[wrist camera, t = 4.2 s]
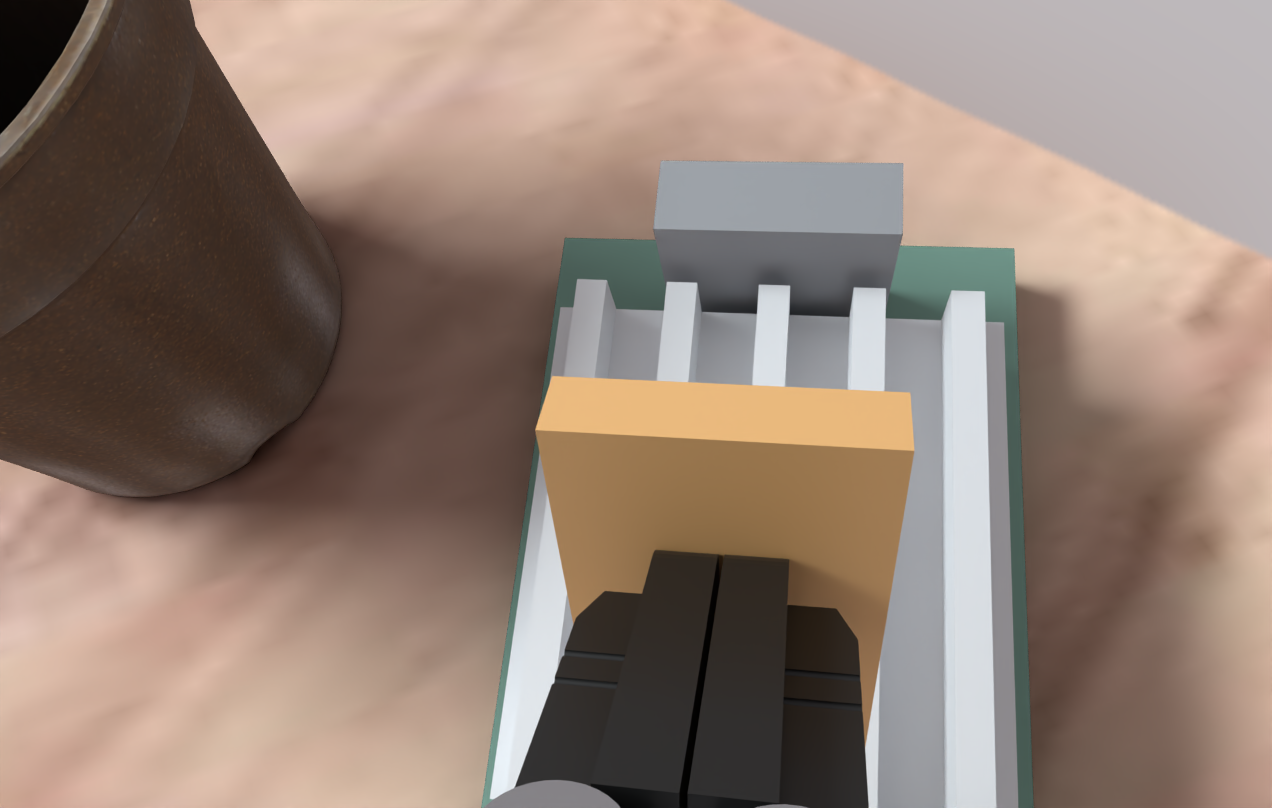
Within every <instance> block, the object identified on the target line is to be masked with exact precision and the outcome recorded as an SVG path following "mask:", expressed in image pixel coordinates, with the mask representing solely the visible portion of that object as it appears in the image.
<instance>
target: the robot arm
mask: <svg viewBox="0 0 1272 808" xmlns="http://www.w3.org/2000/svg"><path fill="white" fill-rule="evenodd" d="M788 581H789V559H783V558H769V557H754V556H740V555H726V554H725V555H724V558H723V565H722V571H721V578H720V577H719V554H708V553H694V552H679V551H665V550H655V551H654V553H653V556H652V559H651V563H650V566H649V570H648V574H647V577H646V581H645V585H644V588H643V592H642V594H639V593H626V592H613V591H604V592H603V593H602V594H601V595H600V596H599V597H597V598H596V599H595V600H594V601H593V602H592V603H591V604H590V605H589V606H588V607H587V608H586V609H585V610H583V611H582V612H581V613H580V614H579V615H578V616H577V617H576V619H575V622H574V625H573V627H572V630H571V633H570V636H569V638H568V641H567V644H566V647H565V650H564V656H562V658H561V661H560V663H559V666H558V669H557V672H556V674H555V681H554V684H552V685H551V688H550V691H549V694H548V697H547V699H546V702H545V705H544V708H543V710H542V713H541V716H540V719H539V721H538V724H537V727H536V730H535V732H534V735H533V738H532V741H531V743H530V746H529V749H528V752H527V755H526V757H525V760H524V763H523V766H522V768H521V771H520V774H519V777H518V779H517V782H516V785H515V787H514V788H513V789H511V790H509V791H507V792H505V793H503V794H501V795H500V796H498V797H496V798H495V799H493V800H492V801H491V802H490V803H488V804H487V805H486V806H485V807H484V808H869V802H868V786H867V770H866V754H865V739H864V723H863V712H862V691H861V682H860V660H859V644H858V639H857V637H856V636H855V635H854V633H853V632H852V630H851V629H850V627H849V626H848V624H847V623H846V622H845V620H844V619H843V617H842V616H841V614H840V613H839V611H838V610H837V609H836V608H824V607H811V606H798V605H787V604H788Z"/></svg>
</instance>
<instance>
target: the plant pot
mask: <svg viewBox="0 0 1272 808" xmlns="http://www.w3.org/2000/svg"><path fill="white" fill-rule="evenodd" d="M340 321H341V287H340V280H339V275H338V270H337V267H336V264H335V261H334V258H333V255H332V253H331V251H330V249H329V247H328V245H327V243H326V241H325V239H324V238H323V236H322V234H321V233H320V231H319V230H318V228H317V226H316V225H315V224H314V222H313V221H312V219H311V218H310V216H309V215H308V213H307V212H306V210H305V208H304V207H303V205H302V204H301V202H300V200H299V199H298V197H297V196H296V194H295V192H294V191H293V189H292V187H291V186H290V184H289V182H288V181H287V179H286V177H285V176H284V174H283V172H282V171H281V169H280V167H279V166H278V164H277V162H276V161H275V159H274V157H273V156H272V154H271V152H270V151H269V149H268V147H267V146H266V144H265V142H264V141H263V139H262V137H261V136H260V134H259V132H258V131H257V129H256V127H255V126H254V124H253V122H252V121H251V119H250V118H249V116H248V114H247V113H246V111H245V109H244V107H243V106H242V104H241V102H240V101H239V99H238V97H237V96H236V94H235V92H234V91H233V89H232V87H231V86H230V84H229V82H228V81H227V79H226V77H225V76H224V74H223V72H222V71H221V69H220V67H219V65H218V64H217V62H216V60H215V59H214V57H213V55H212V54H211V52H210V50H209V49H208V47H207V45H206V44H205V42H204V40H203V39H202V37H201V35H200V34H199V32H198V30H197V29H196V27H195V21H194V17H193V13H192V9H191V4H190V1H189V0H0V459H1V460H4V461H7V462H10V463H13V464H16V465H19V466H22V467H25V468H28V469H31V470H34V471H37V472H40V473H43V474H45V475H48V476H51V477H54V478H57V479H60V480H62V481H65V482H68V483H71V484H73V485H76V486H79V487H81V488H84V489H87V490H90V491H94V492H98V493H103V494H109V495H116V496H128V497H152V496H161V495H167V494H172V493H178V492H182V491H187V490H191V489H194V488H197V487H199V486H202V485H205V484H208V483H210V482H213V481H215V480H217V479H220V478H222V477H224V476H226V475H228V474H230V473H232V472H234V471H236V470H238V469H239V468H241V467H243V466H244V465H246V464H247V463H249V462H250V460H251V458H252V456H253V455H254V453H255V452H256V450H257V449H258V448H259V447H260V446H261V445H262V444H263V443H265V442H266V441H267V440H268V439H269V438H271V437H272V436H273V435H274V434H275V433H277V432H278V431H280V430H281V429H282V428H284V427H285V426H286V425H288V424H290V423H292V422H294V421H296V420H297V419H298V418H299V417H300V415H301V414H302V413H303V411H304V410H305V408H306V407H307V406H308V404H309V403H310V402H311V400H312V399H313V397H314V395H315V394H316V392H317V390H318V388H319V386H320V385H321V383H322V381H323V379H324V377H325V374H326V372H327V370H328V368H329V365H330V362H331V360H332V356H333V353H334V349H335V346H336V342H337V339H338V334H339V328H340Z"/></svg>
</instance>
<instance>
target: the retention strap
mask: <svg viewBox="0 0 1272 808" xmlns="http://www.w3.org/2000/svg"><path fill="white" fill-rule="evenodd" d="M535 432H536V437H537V442H538V447H539V452H540V457H541V462H542V467H543V472H544V477H545V483H546V488H547V493H548V498H549V503H550V508H551V513H552V518H553V523H554V529H555V534H556V539H557V544H558V549H559V554H560V559H561V564H562V569H563V574H564V580H565V585H566V590H567V595H568V600H569V605H570V610H571V615H572V620H573V625H574V622H575V619H576V617H577V616H578V615H579V614H580V613H581V612H582V611H583V610H585V609H586V608H587V607H588V606H589V605H590V604H591V603H592V602H593V601H594V600H595V599H596V598H597V597H599V596H600V595H601V594H602V593H603V592H604V591H613V592H626V593H639V594H642V592H643V588H644V585H645V581H646V577H647V574H648V570H649V566H650V563H651V559H652V556H653V553H654V551H655V550H665V551H679V552H694V553H708V554H719V577H720V578H721V571H722V565H723V558H724V555H725V554H726V555H740V556H754V557H769V558H783V559H789V581H788V604H787V605H798V606H811V607H824V608H836V609H837V610H838V611H839V613H840V614H841V616H842V617H843V619H844V620H845V622H846V623H847V624H848V626H849V627H850V629H851V630H852V632H853V633H854V635H855V636H856V637H857V639H858V644H859V660H860V682H861V691H862V712H863V723H864V739H865V746H866V740H867V734H868V728H869V722H870V716H871V710H872V704H873V698H874V692H875V686H876V680H877V674H878V668H879V662H880V656H881V650H882V644H883V638H884V632H885V626H886V620H887V614H888V607H889V601H890V595H891V589H892V583H893V577H894V571H895V565H896V559H897V553H898V547H899V541H900V535H901V529H902V523H903V517H904V511H905V505H906V499H907V493H908V487H909V481H910V475H911V469H912V463H913V457H914V437H913V423H912V409H911V394H910V392H889V391H867V390H845V389H824V388H802V387H780V386H758V385H737V384H715V383H693V382H671V381H650V380H628V379H606V378H584V377H563V376H552V378H551V382H550V385H549V388H548V391H547V394H546V397H545V401H544V404H543V407H542V410H541V413H540V416H539V420H538V423H537V426H536V429H535Z"/></svg>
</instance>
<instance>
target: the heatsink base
mask: <svg viewBox="0 0 1272 808" xmlns="http://www.w3.org/2000/svg"><path fill="white" fill-rule="evenodd" d="M653 230H654V234H655V239H656V240H634V239H592V238H565V241H564V247H563V254H562V261H561V268H560V275H559V282H558V288H557V295H556V302H555V309H554V316H553V322H552V329H551V336H550V343H549V350H548V357H547V363H546V370H545V377H544V384H543V391H542V397H541V404H540V411H539V416H540V413H541V410H542V407H543V404H544V401H545V397H546V394H547V391H548V388H549V385H550V382H551V378H552V376H563V377H584V378H606V379H628V380H650V381H671V382H693V383H715V384H737V385H758V386H780V387H802V388H824V389H845V390H867V391H889V392H910V394H911V409H912V423H913V437H914V457H913V463H912V469H911V475H910V481H909V487H908V493H907V499H906V505H905V511H904V517H903V523H902V529H901V535H900V541H899V547H898V553H897V559H896V565H895V571H894V577H893V583H892V589H891V595H890V601H889V607H888V614H887V620H886V626H885V632H884V638H883V644H882V650H881V656H880V662H879V668H878V674H877V680H876V686H875V692H874V698H873V704H872V710H871V716H870V722H869V728H868V734H867V740H866V746H865V754H866V770H867V786H868V802H869V808H1034V804H1033V775H1032V746H1031V718H1030V689H1029V660H1028V631H1027V602H1026V573H1025V545H1024V516H1023V487H1022V458H1021V429H1020V400H1019V372H1018V343H1017V314H1016V285H1015V256H1014V248H973V247H931V246H900V244H901V239H902V235H903V163H821V162H730V161H661V164H660V173H659V182H658V191H657V200H656V209H655V218H654V227H653ZM538 420H539V418H538ZM572 627H573V620H572V615H571V610H570V605H569V600H568V595H567V590H566V585H565V580H564V574H563V569H562V564H561V559H560V554H559V549H558V544H557V539H556V534H555V529H554V523H553V518H552V513H551V508H550V503H549V498H548V493H547V488H546V483H545V477H544V472H543V467H542V462H541V457H540V452H539V447H538V442H537V437H536V438H535V445H534V452H533V459H532V466H531V472H530V479H529V486H528V493H527V500H526V506H525V513H524V520H523V527H522V534H521V541H520V547H519V554H518V561H517V568H516V575H515V581H514V588H513V595H512V602H511V609H510V616H509V622H508V629H507V636H506V643H505V650H504V656H503V663H502V670H501V677H500V684H499V691H498V697H497V704H496V711H495V718H494V725H493V731H492V738H491V745H490V752H489V759H488V766H487V772H486V779H485V786H484V793H483V800H482V806H481V808H484V807H485V806H486V805H487V804H488V803H490V802H491V801H492V800H493V799H495V798H496V797H498V796H500V795H501V794H503V793H505V792H507V791H509V790H511V789H513V788H514V787H515V785H516V782H517V779H518V777H519V774H520V771H521V768H522V766H523V763H524V760H525V757H526V755H527V752H528V749H529V746H530V743H531V741H532V738H533V735H534V732H535V730H536V727H537V724H538V721H539V719H540V716H541V713H542V710H543V708H544V705H545V702H546V699H547V697H548V694H549V691H550V688H551V685H552V684H554V681H555V674H556V672H557V669H558V666H559V663H560V661H561V658H562V656H564V650H565V647H566V644H567V641H568V638H569V636H570V633H571V630H572Z"/></svg>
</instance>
